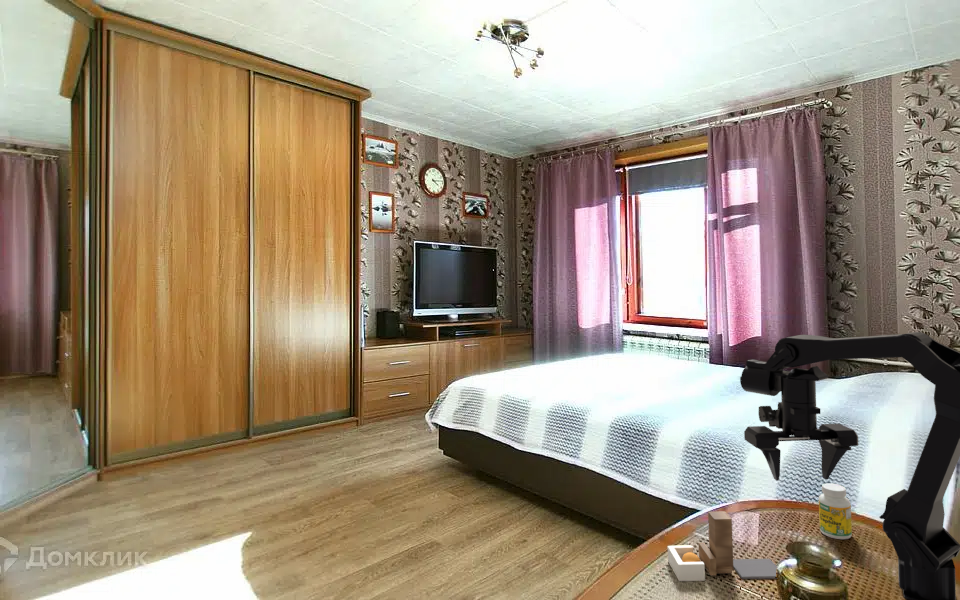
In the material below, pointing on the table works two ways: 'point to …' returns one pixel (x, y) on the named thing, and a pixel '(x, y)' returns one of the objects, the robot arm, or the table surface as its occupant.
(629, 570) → the table surface
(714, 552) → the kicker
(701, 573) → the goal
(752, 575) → the grey flat plate
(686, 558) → the ball
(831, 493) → the supplement bottle
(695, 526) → the table surface
